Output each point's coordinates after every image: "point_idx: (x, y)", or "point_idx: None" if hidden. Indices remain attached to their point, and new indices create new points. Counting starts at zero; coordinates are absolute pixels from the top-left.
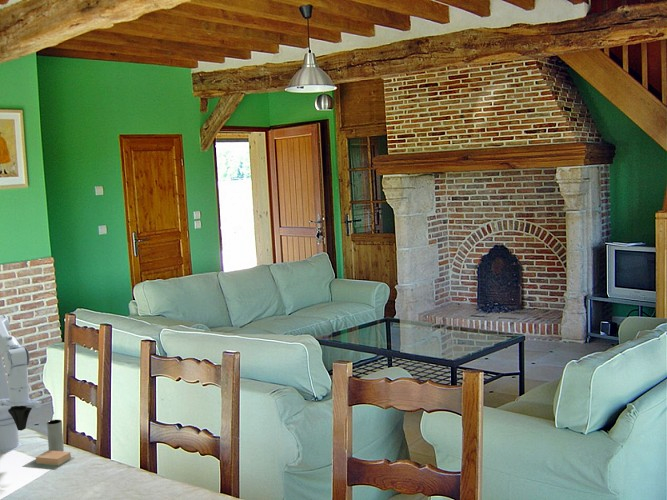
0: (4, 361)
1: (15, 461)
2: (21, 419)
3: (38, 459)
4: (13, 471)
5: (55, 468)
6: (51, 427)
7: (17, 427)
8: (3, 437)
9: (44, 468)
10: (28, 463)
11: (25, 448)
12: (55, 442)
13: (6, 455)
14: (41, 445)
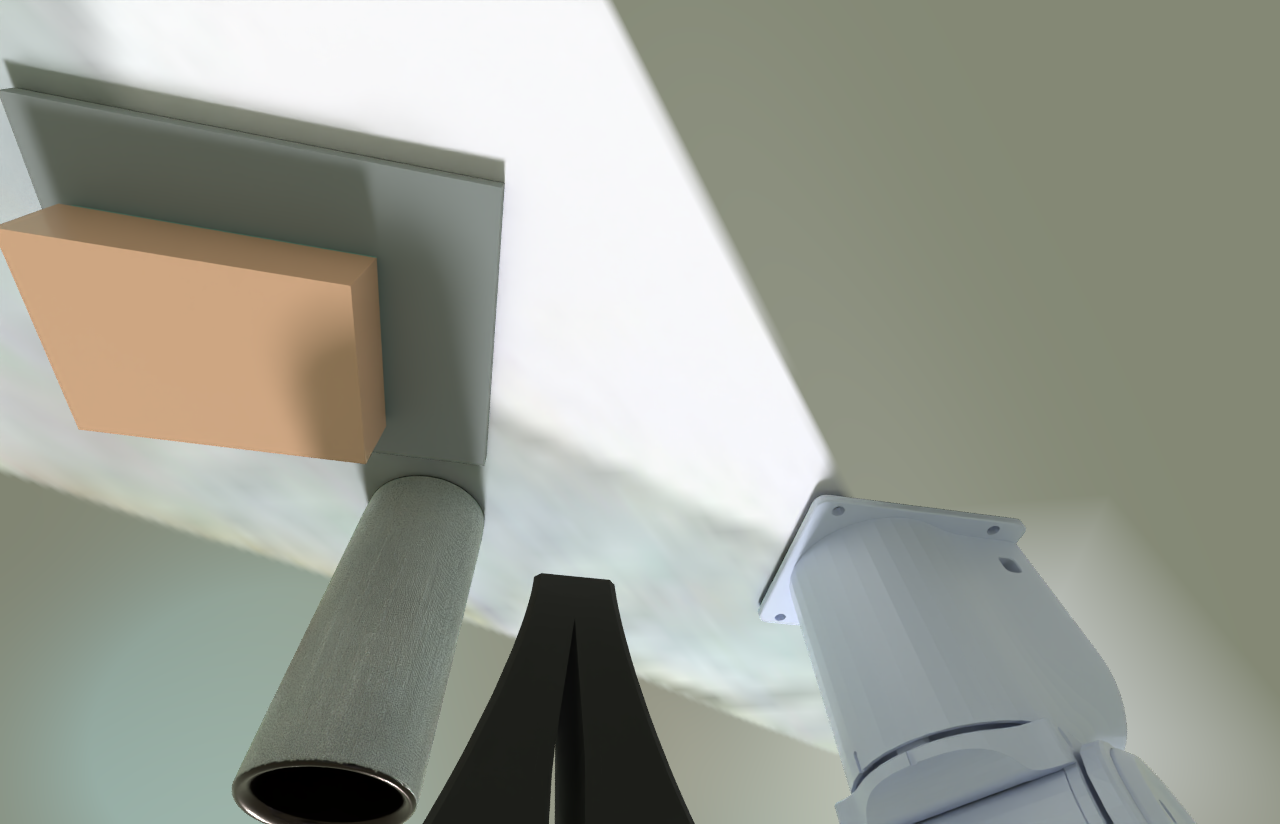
0: None
1: (677, 347)
2: (435, 805)
3: (324, 268)
4: (542, 73)
5: (32, 131)
6: (313, 714)
7: (602, 619)
8: (911, 609)
9: (174, 128)
10: (484, 272)
11: (728, 568)
12: (353, 565)
13: (820, 458)
14: (637, 610)
